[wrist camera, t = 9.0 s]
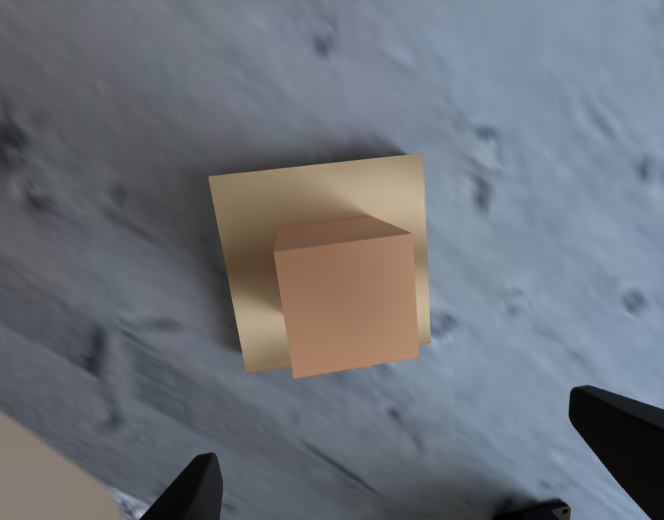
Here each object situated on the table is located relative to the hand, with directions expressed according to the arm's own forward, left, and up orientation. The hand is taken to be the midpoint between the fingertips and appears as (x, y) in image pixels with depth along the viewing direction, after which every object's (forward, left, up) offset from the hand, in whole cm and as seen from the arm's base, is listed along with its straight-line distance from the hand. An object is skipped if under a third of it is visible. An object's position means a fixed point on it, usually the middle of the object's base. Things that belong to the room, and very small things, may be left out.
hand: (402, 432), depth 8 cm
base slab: (+1, 0, -13) cm, 13 cm away
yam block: (+2, 0, -11) cm, 11 cm away
